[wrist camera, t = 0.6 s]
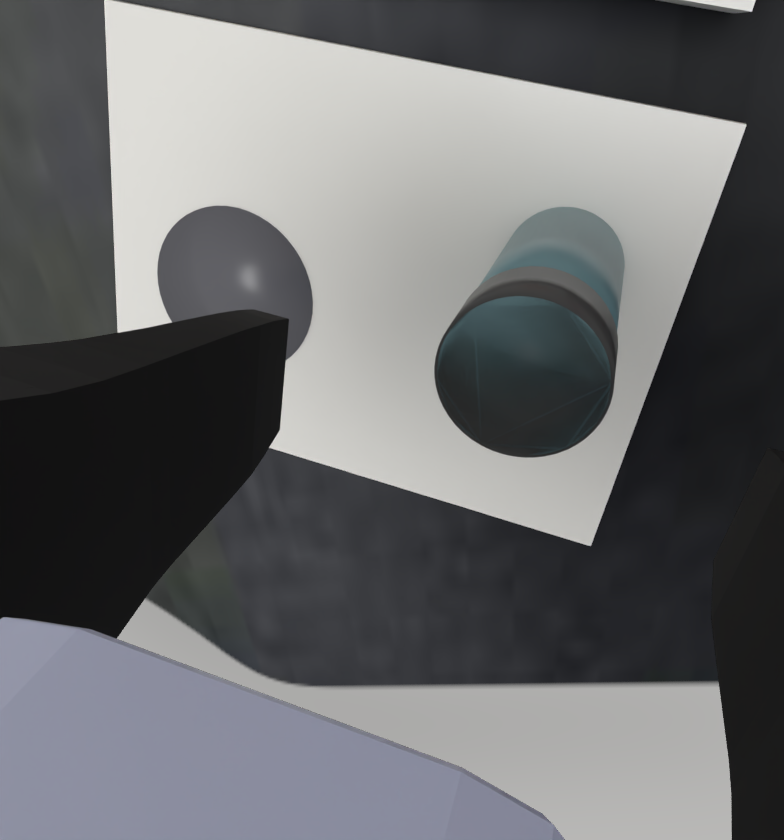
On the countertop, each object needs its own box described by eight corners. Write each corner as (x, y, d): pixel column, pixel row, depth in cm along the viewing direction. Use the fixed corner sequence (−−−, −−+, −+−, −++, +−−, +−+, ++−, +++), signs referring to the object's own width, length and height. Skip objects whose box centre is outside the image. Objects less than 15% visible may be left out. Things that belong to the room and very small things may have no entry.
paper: (745, 123, 17) (747, 124, 16) (591, 540, 23) (590, 547, 22) (111, -1, 19) (102, -2, 19) (125, 398, 26) (119, 402, 25)
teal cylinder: (644, 220, 18) (639, 319, 12) (605, 338, 19) (584, 478, 13) (516, 192, 18) (452, 273, 12) (489, 308, 20) (420, 430, 14)
